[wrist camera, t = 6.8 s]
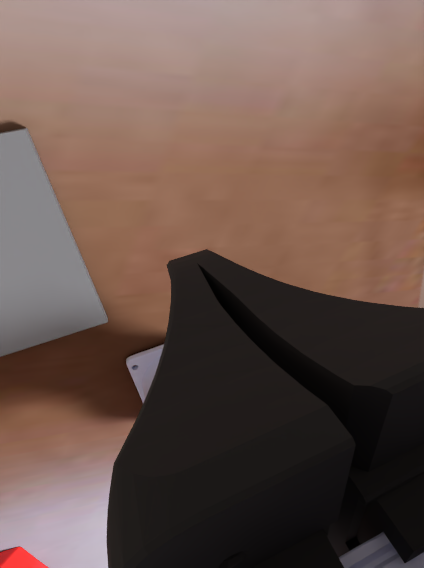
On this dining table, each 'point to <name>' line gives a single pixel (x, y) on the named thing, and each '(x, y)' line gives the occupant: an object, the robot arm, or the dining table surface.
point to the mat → (38, 256)
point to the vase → (19, 559)
